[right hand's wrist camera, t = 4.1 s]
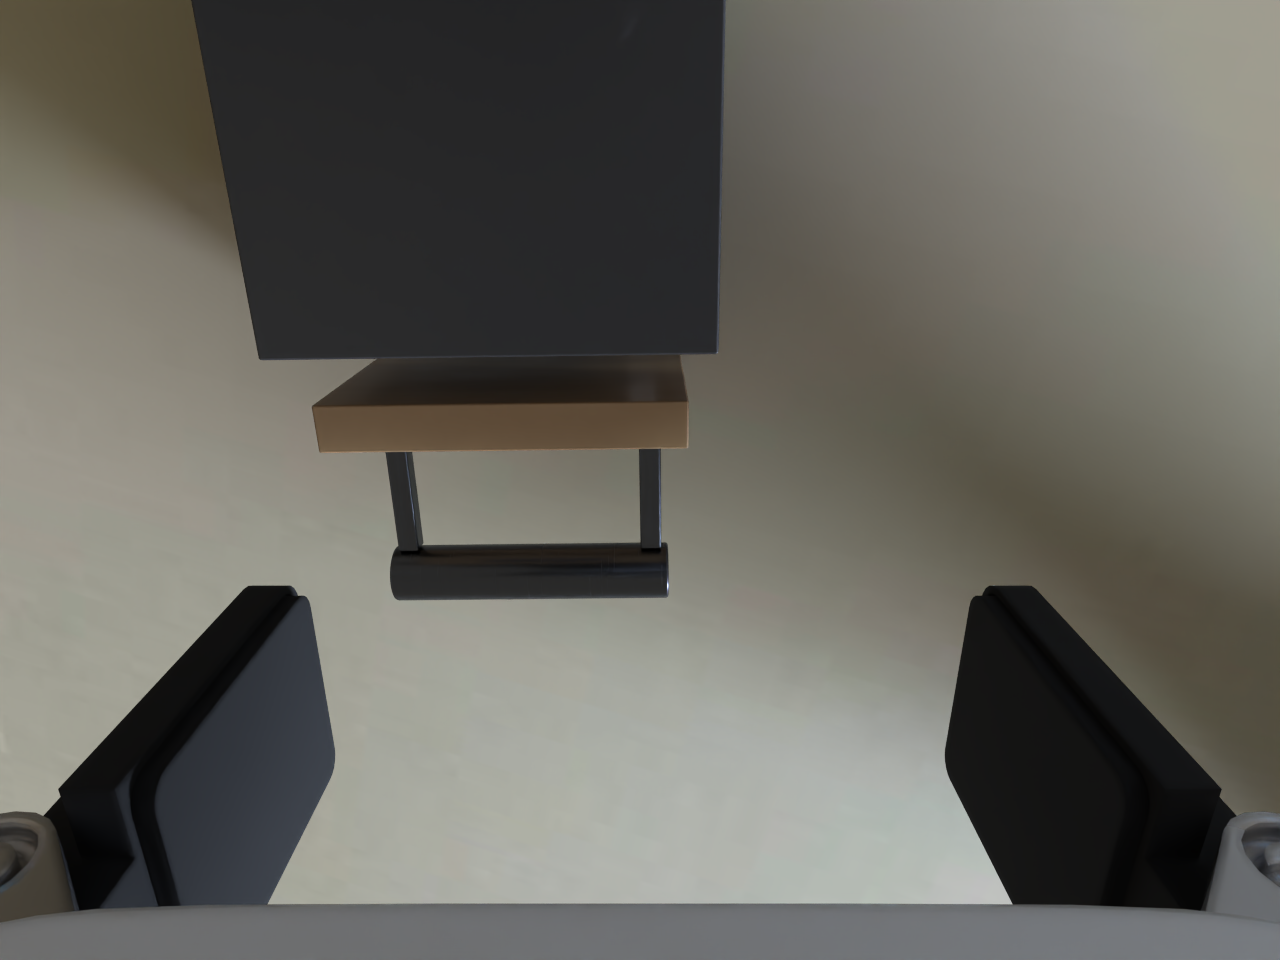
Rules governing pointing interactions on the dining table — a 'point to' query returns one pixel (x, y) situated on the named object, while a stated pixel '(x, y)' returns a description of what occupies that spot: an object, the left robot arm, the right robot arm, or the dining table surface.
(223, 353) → the dining table surface
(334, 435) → the drawer
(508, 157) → the cabinet
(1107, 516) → the dining table surface
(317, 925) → the right robot arm
